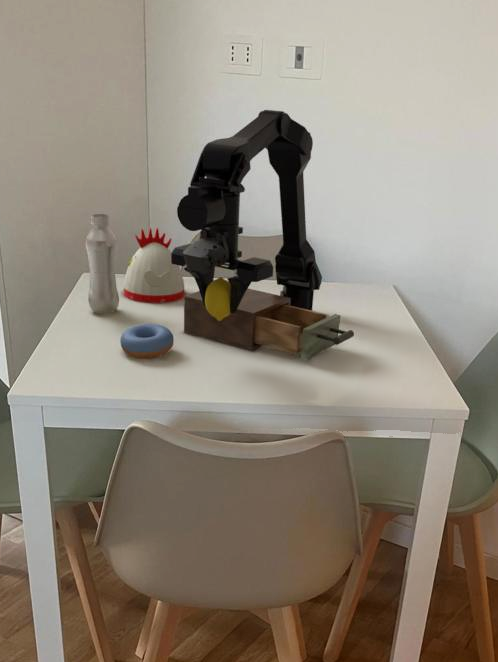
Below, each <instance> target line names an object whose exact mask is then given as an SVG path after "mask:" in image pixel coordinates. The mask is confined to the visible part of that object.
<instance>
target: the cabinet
mask: <svg viewBox="0 0 498 662" xmlns="http://www.w3.org/2000/svg"><path fill="white" fill-rule="evenodd" d="M290 302H291V298H288V297H284V296H280V294H274V293H270V292H265V291H262V290H257V289H252V288H249V287H248V289H247V290H246V292H245V294H244V296H243V298H242V300H241V302H240V304H239V306H238V308H237V310H236V312H235V313H233V314H232V313H231V314H230V315H228V316H227V317H224V318H223V319H222V320H221V321H218V320H217V319H216V318H215V317H213V316H212V315H211V314H210V313H209V312H208V311H207V309H206V307H205V306H204V303H203V300H202V297H201V294H200V291H199V290H198V291H196V292H192V293H188V294H186V295H184V297H183V304H184V305H183V333H184V334H187V335H190V336H195V337H197V338H201V339H205V340H208V341H213V342H216V343H220V344H224V345H227V346H231V347H234V348H238V349H242V350H245V351H250V352H253V351H256V350H257V349H260V348H262V347H264V346H263V345H259V344H256V343H254V338H255V319H256V316H257V315H260V314H262V313H265V312H267V311H269V310H272V309H274V308H277V307H279V306H282V305H284V304H286V305H290Z"/></svg>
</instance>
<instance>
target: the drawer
mask: <svg viewBox="0 0 498 662" xmlns="http://www.w3.org/2000/svg"><path fill="white" fill-rule="evenodd" d="M340 323H341V314H338V313H334V314H332V315H330V316H328V313H324V312H319V311H316V310H312V311H311V310H307V309H303V308H298V307H294V306H290V305H286V304H284V305H282V306H279V307H277V308H274V309H272V310H269V311H267V312H265V313H262V314H260V315H257V316H256V319H255V338H254V343H256V344H259V345H263V346H262V347H267V348H270V349H275V350H279V351H283V352H287V353H290V354H293V355H299V354H300V359H301V360H305V361H307V360H309V359H311V358H313V357H315V356H316V355H318V354H321V353H322V352H324V351H326V350H328V349H330V348H332V347H334V346H338V345H340V344H343V343H344V342H346V341H347V340H350V339H351V338H354V336H355V332H354V330H352V329H349V330H344V329H340V325H341V324H340Z"/></svg>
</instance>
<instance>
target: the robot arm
mask: <svg viewBox="0 0 498 662" xmlns="http://www.w3.org/2000/svg"><path fill="white" fill-rule="evenodd" d="M313 142H314V140H313V137H312V134H311V132H309V131H308V130H307V128H306V127H305V126H304V125H302V124H300V123H299V122H297V121H296V120H294V119H293V118H291V116H290V115H289V114H288V113H287V112H285V111H284V110H274V109H273V110H272V109H264V110H261V111H260V112H259V113H258V115H257V117H256V118H254V119H253V120H251V121H250V122H249V123H248V124H246V125H245V126H244V127H243V128H241V129H240V130H239V131H237V132H236V133H235V134H233V136H230V137H223V138H218V139H214V140H211V141H209V142H207V143H206V145H204V146H203V149H202V151H201V153H200V154H199V158H198V161H197V163H196V166H195V170H194V172H193V174H192V178H191V180H190V184H189V186H188V187H187V194H186V195H184V196H183V197H182V198H181V199H180V200H179V203H178V206H177V207H176V215H177V218H178V221H179V223H180V224H181V226H182V227H184V229H185V230H188V231H189V232H197V231H200V232H199V239H197V240H195V241H193V242H192V243H187V244H183V245H179V246H175V247H174V248H173V249H172V251H171V264H175V265H179V267H184V268H183V270H184V271H185V272H187V273H189V274H190V275H191V276H192V277H193V278H194V281H195V282H196V285H197V288H198V291H200V294H201V297H202V300H203V303H204V306H205V294H206V290H207V287H208V285H209V284H210V283H211V282H212V281H214V280H215V279H214V278H215V270H216V268H221V269H225V270H230V271H233V272H234V273H233V274H234V275H233V276H229V277H228V278H227V279H226V280H227V281H228V282H229V283H230V285H231V295H230V312H231V313H232V314H233V313H235V312H236V310H237V308H238V306H239V304H240V302H241V300H242V298H243V296H244V294H245V292H246V290H247V289H248V288H249V287H250V286H251V284H252V283H258V282H261V281H264V280H267V279H270V278H272V277H274V270H275V277H276V285H277V286H282V290H280V292H279V296H284V297H288V298H291V302H290V306H294V307H298V308H303V309H307V310H311V311H313V306H314V305H313V304H314V293H315V291H318V290H320V288H321V285H322V280H323V276H322V273H321V271H320V268H319V265H318V263H317V260H316V253H315V250H314V249H313V247H312V245H311V244H310V242H309V241H308V240H307V226H306V225H307V223H306V202H305V201H306V199H305V180H304V179H305V178H304V171H305V170H306V168H307V166H308V164H309V162H310V161H311V158H312V150H313ZM264 149H265V150H267V156H268V162H269V165H270V166H271V167H272V169H273V171H274V172H275V173H276V175H277V176H278V185H279V186H278V188H279V200H280V203H279V204H280V215H281V216H280V217H281V230H282V231H281V232H282V246H281V247H280V249H279V251H278V253H277V254H276V255H275V257H274V261H275V267H274V265H273V264H272V261H271V260H270V259H265V258H260V257H255V256H253V257H249V258H247V259H244V260H240V259H239V258H242V257H243V251H242V250H240V249H239V235H241V234H244V227H242V226H240V207H241V206H240V204H241V202H240V201H241V193H244V192H245V191H246V188H245V186H244V185H243V183H242V182H243V180H244V178H245V177H246V176H247V175H248V173H249V172H250V170H251V161H252V160H253V159H254V158H255V157H256V156H257V155H259V154H260V153H261V152H262V151H263V150H264ZM185 266H186V267H185ZM274 268H275V269H274ZM205 307H206V306H205Z"/></svg>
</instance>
